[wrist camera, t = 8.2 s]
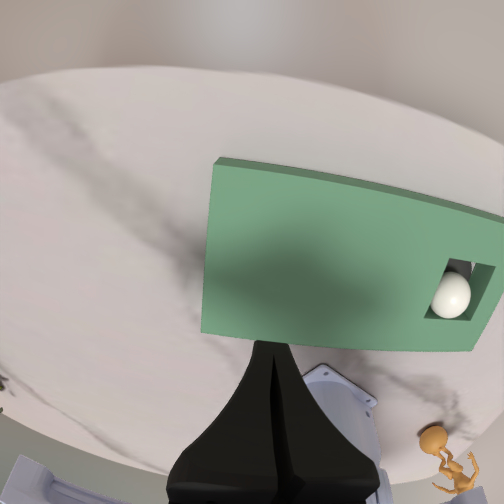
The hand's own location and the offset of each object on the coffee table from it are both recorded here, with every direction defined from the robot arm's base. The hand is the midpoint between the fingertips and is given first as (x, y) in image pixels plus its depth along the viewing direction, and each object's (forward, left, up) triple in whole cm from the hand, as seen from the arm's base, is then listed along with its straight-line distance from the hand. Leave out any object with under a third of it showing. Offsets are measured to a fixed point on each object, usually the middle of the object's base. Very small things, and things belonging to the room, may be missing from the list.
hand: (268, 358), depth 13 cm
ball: (-12, -8, -8) cm, 17 cm away
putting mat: (-7, -5, -10) cm, 13 cm away
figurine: (-35, +3, -11) cm, 37 cm away
